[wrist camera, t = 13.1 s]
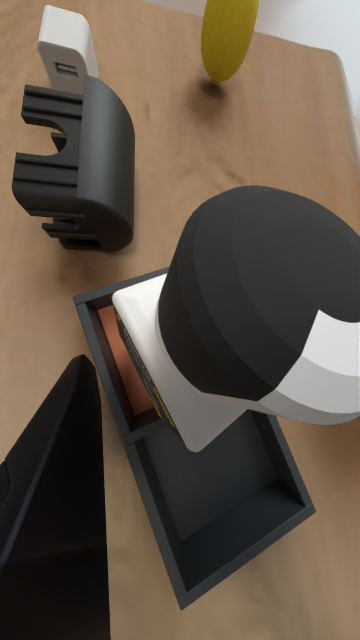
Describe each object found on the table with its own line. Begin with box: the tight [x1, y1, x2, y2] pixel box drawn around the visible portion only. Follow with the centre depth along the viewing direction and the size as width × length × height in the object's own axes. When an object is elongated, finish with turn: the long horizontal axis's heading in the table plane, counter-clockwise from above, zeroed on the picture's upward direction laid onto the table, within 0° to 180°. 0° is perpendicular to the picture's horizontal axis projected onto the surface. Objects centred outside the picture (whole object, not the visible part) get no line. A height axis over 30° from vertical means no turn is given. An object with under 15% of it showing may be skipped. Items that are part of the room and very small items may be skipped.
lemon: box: [201, 0, 259, 85], centre depth 19 cm, size 6×6×8 cm
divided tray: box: [73, 267, 316, 610], centre depth 15 cm, size 22×11×4 cm, turn 22°
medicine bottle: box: [112, 186, 360, 452], centre depth 9 cm, size 7×7×12 cm
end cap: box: [12, 75, 135, 251], centre depth 15 cm, size 10×7×7 cm
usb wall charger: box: [37, 5, 99, 95], centre depth 18 cm, size 4×7×4 cm, turn 179°
